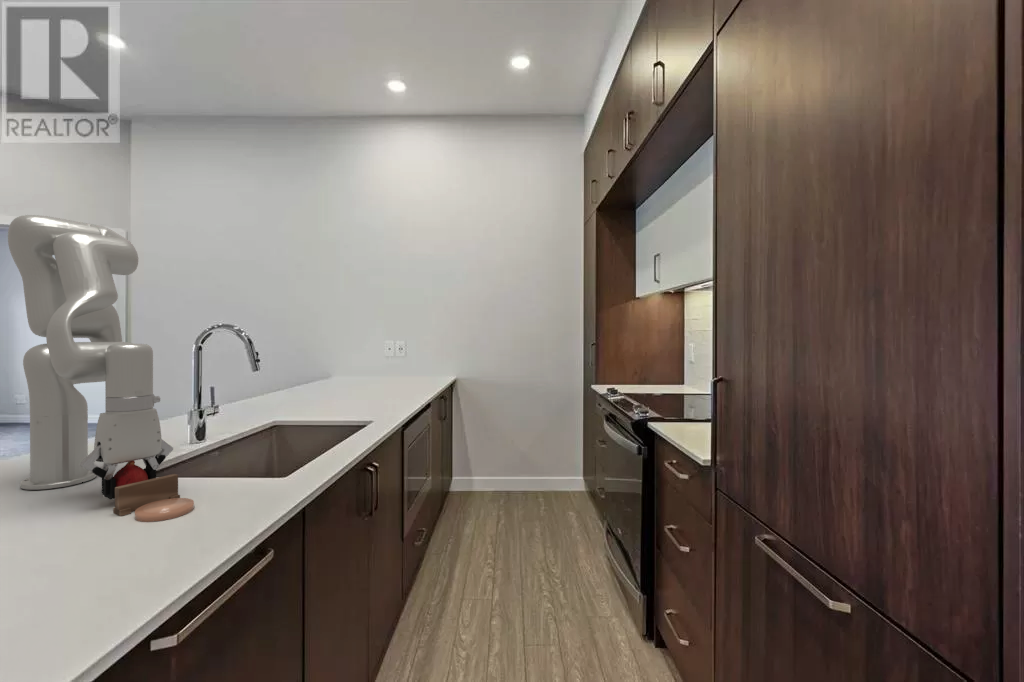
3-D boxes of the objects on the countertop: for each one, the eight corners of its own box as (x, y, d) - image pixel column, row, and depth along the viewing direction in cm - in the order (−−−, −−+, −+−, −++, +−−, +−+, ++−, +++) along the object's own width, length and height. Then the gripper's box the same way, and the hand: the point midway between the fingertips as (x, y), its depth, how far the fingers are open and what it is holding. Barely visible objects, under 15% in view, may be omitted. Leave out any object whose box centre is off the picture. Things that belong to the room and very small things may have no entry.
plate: (125, 515, 88) (125, 509, 88) (178, 501, 96) (178, 495, 96) (150, 525, 84) (149, 518, 84) (203, 509, 91) (203, 502, 91)
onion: (127, 506, 93) (127, 465, 93) (103, 503, 94) (103, 463, 94) (155, 496, 98) (155, 458, 98) (132, 494, 100) (132, 456, 100)
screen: (113, 513, 89) (113, 486, 89) (172, 497, 98) (172, 473, 98) (120, 516, 88) (120, 489, 88) (180, 499, 96) (179, 475, 96)
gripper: (167, 398, 105) (167, 479, 106) (66, 408, 90) (66, 502, 90) (186, 400, 102) (185, 484, 102) (83, 412, 87) (83, 510, 87)
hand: (129, 492), depth 96 cm, fingers closed on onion, 5 cm apart
